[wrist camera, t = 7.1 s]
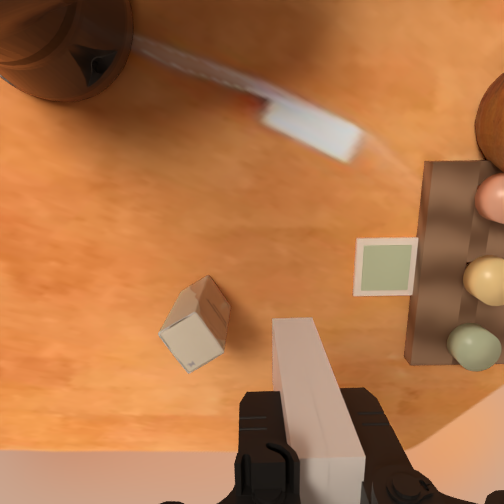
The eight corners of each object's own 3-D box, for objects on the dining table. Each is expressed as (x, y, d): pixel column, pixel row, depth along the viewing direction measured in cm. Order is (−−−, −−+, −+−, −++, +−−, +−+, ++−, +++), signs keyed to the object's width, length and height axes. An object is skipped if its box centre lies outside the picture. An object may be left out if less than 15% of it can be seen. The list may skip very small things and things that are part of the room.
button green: (440, 314, 45) (461, 332, 41) (479, 314, 45) (504, 332, 41) (435, 350, 47) (455, 371, 42) (473, 349, 47) (497, 370, 42)
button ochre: (455, 249, 42) (480, 261, 37) (498, 249, 42) (527, 261, 37) (449, 290, 43) (473, 306, 39) (491, 289, 43) (519, 305, 39)
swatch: (356, 237, 43) (358, 239, 42) (416, 236, 43) (419, 238, 42) (352, 294, 45) (354, 297, 44) (410, 293, 45) (413, 296, 44)
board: (424, 161, 41) (433, 161, 39) (533, 159, 41) (547, 160, 39) (403, 356, 47) (410, 365, 45) (498, 354, 47) (509, 363, 46)
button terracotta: (465, 171, 39) (493, 174, 35) (511, 171, 40) (544, 174, 35) (459, 217, 41) (485, 225, 36) (503, 216, 41) (535, 224, 36)
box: (232, 307, 45) (227, 355, 35) (202, 324, 46) (188, 377, 35) (207, 272, 44) (195, 311, 33) (177, 290, 45) (155, 334, 34)
